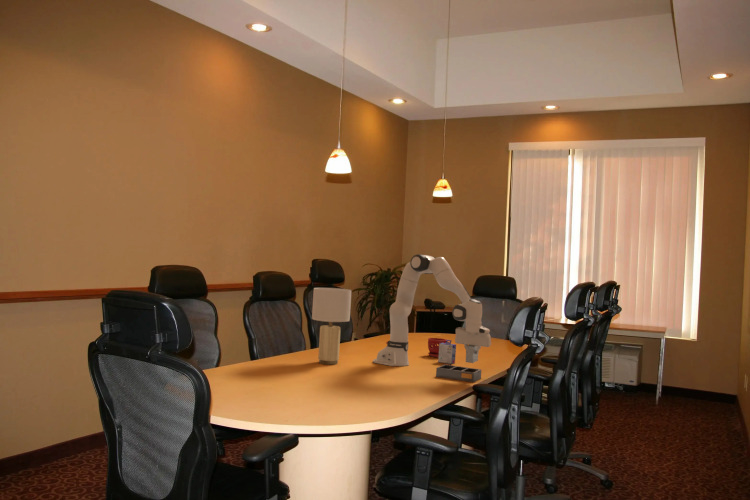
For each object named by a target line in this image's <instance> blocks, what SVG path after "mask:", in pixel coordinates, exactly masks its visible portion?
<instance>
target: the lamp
mask: <svg viewBox="0 0 750 500" xmlns="http://www.w3.org/2000/svg"><path fill="white" fill-rule="evenodd" d="M312 293H313V294H312V295H313V296H312V310H311V313H312V314H311V319H312V320H314V321H319V322H326V323H328V324H327V325H324V324H323V325H320V327H319V340H318V341H319V343H318V358H317V360H318V363H319V364H321V365H326V366H335V365H338V362H339V360H340V359H339V358H340V344H341V343H340V342H341V329H342V328H341V326H339V325H333V323H342V322H343V323H345V322H350V319H351V306H352V305H351V304H352V289H349V288H348V289H346V288H338V287H337V288H336V287H313V292H312Z"/></svg>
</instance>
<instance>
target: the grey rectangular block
mask: <svg viewBox="0 0 750 500" xmlns="http://www.w3.org/2000/svg"><path fill="white" fill-rule="evenodd" d="M477 349H478V348H477V346H474V345H468V346H466V349H465V363H469V364H474V363H476V362H478V361H479V353H478V354H475V351H476V350H477Z"/></svg>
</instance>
